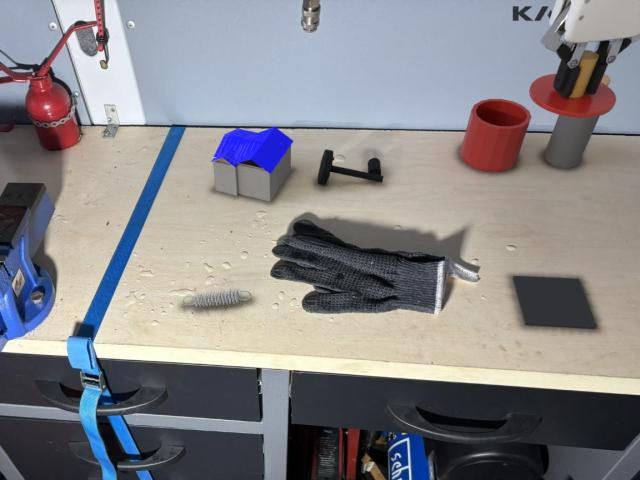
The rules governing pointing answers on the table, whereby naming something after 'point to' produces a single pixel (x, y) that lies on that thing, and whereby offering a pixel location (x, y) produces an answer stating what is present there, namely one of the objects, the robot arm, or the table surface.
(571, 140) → the bottle
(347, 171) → the light fixture
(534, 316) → the mat
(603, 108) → the tin lid
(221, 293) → the spring
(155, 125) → the table surface
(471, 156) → the tin
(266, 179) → the house
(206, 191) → the table surface
